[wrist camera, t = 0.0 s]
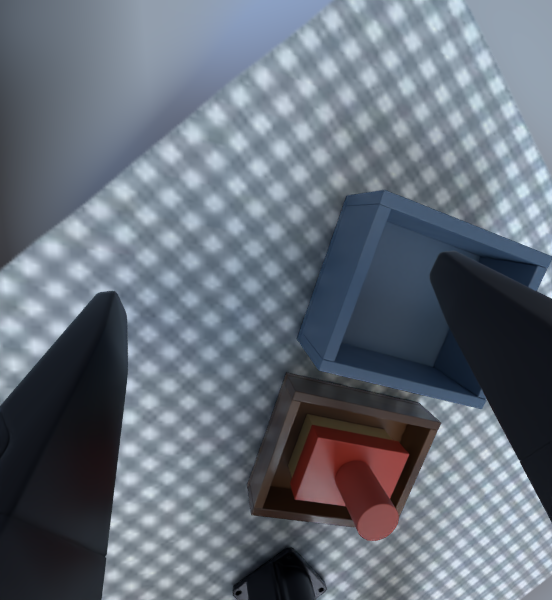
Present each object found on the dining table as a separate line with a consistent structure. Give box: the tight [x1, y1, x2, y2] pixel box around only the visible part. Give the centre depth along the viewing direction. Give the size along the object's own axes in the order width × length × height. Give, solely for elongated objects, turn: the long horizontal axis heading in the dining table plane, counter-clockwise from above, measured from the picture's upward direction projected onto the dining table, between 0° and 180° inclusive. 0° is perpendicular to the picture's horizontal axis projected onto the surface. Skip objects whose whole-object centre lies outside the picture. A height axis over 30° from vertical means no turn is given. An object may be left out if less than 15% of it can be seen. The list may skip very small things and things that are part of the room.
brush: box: [288, 414, 409, 541], centre depth 25 cm, size 8×5×7 cm
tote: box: [297, 190, 552, 409], centre depth 24 cm, size 11×13×6 cm
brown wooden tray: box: [247, 373, 441, 527], centre depth 28 cm, size 10×12×3 cm
